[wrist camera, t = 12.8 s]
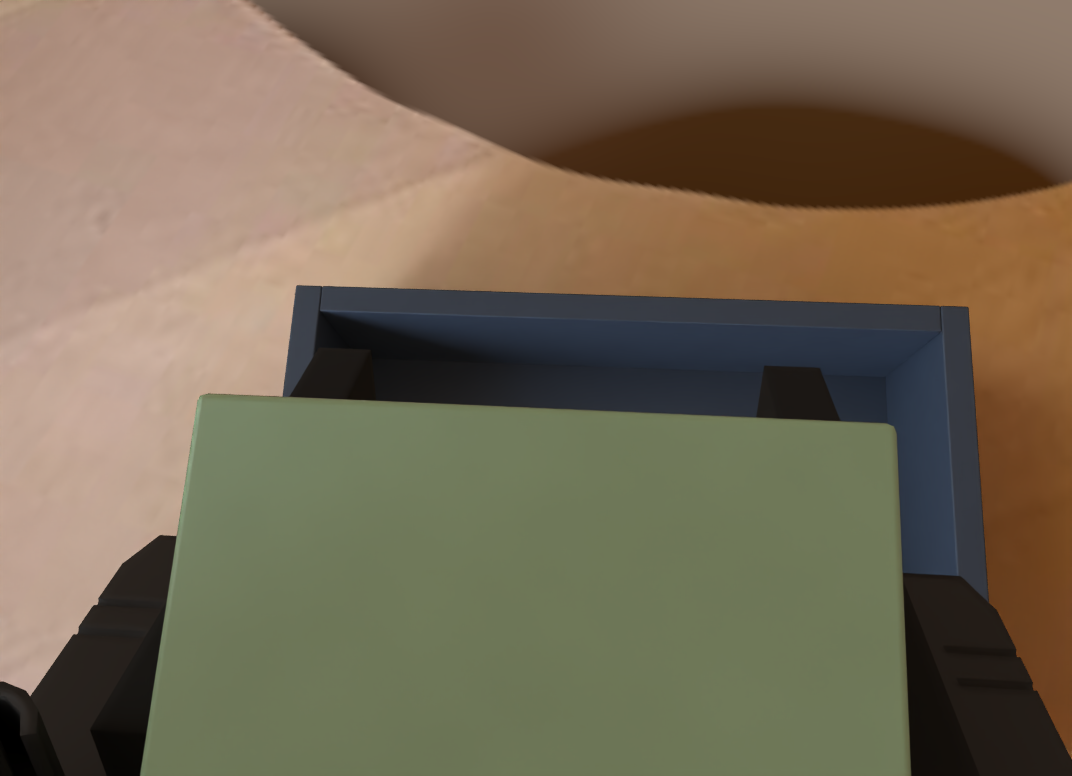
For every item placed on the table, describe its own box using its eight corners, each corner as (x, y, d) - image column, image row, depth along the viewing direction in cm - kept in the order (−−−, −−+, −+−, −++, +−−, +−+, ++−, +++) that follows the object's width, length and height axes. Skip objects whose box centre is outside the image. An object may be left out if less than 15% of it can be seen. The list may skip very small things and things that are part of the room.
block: (389, 845, 16) (68, 1212, 6) (417, 523, 17) (195, 390, 7) (712, 869, 15) (938, 1304, 6) (715, 538, 17) (899, 420, 7)
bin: (288, 846, 28) (219, 900, 23) (343, 340, 32) (295, 284, 27) (928, 890, 27) (1014, 958, 22) (902, 360, 31) (969, 306, 26)
